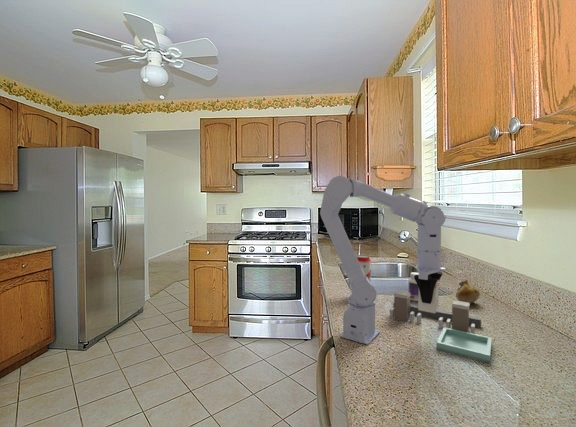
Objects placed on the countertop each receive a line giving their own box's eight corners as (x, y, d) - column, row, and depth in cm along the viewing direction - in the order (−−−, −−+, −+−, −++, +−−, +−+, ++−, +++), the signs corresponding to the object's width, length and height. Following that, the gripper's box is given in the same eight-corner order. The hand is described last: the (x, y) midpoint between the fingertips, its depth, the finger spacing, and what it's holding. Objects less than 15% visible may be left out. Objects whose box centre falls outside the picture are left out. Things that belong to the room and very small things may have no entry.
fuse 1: (406, 321, 92) (407, 295, 91) (393, 318, 94) (394, 293, 94) (410, 317, 95) (410, 292, 94) (397, 315, 97) (397, 290, 97)
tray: (489, 363, 68) (489, 355, 68) (436, 349, 74) (436, 342, 74) (491, 344, 77) (491, 337, 77) (443, 333, 83) (444, 327, 83)
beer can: (373, 297, 115) (374, 255, 114) (365, 301, 110) (366, 258, 109) (358, 294, 119) (359, 254, 118) (350, 297, 114) (351, 256, 114)
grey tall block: (435, 313, 78) (435, 283, 78) (418, 310, 81) (418, 280, 80) (438, 308, 82) (438, 279, 81) (421, 305, 84) (421, 277, 84)
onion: (451, 303, 108) (451, 281, 108) (459, 298, 114) (459, 277, 113) (475, 308, 103) (475, 285, 102) (482, 303, 108) (482, 281, 108)
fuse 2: (467, 335, 82) (468, 306, 82) (451, 331, 84) (452, 303, 84) (469, 330, 85) (469, 302, 85) (453, 327, 88) (454, 300, 87)
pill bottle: (426, 301, 110) (426, 275, 109) (411, 301, 110) (411, 275, 110) (420, 296, 115) (420, 271, 115) (405, 296, 115) (406, 271, 115)
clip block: (478, 336, 81) (479, 328, 81) (386, 316, 96) (386, 308, 96) (481, 325, 89) (481, 317, 89) (395, 307, 103) (395, 301, 103)
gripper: (440, 256, 72) (440, 311, 73) (449, 248, 84) (449, 296, 85) (410, 253, 76) (409, 305, 77) (422, 246, 88) (422, 291, 89)
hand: (428, 300), depth 81 cm, fingers closed on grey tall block, 4 cm apart
